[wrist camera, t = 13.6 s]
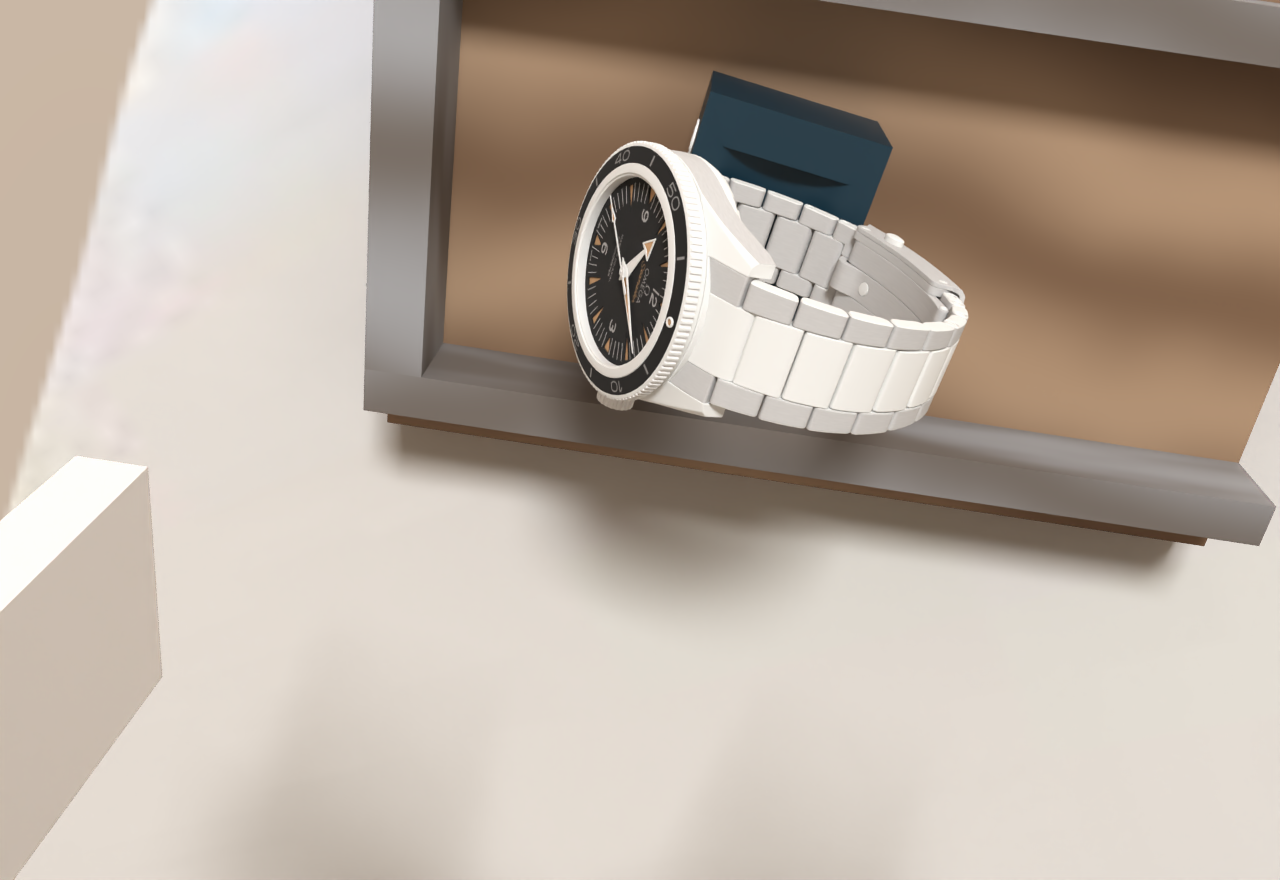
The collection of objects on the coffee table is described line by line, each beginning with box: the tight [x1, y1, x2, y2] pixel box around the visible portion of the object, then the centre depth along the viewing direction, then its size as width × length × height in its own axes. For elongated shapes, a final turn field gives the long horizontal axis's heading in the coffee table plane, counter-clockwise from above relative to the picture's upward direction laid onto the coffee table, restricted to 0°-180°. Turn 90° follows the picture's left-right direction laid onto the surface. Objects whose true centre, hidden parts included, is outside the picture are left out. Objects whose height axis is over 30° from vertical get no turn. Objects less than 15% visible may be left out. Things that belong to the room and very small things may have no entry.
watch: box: [567, 71, 968, 435], centre depth 25 cm, size 6×8×11 cm
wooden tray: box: [364, 0, 1280, 546], centre depth 29 cm, size 16×24×4 cm, turn 83°
